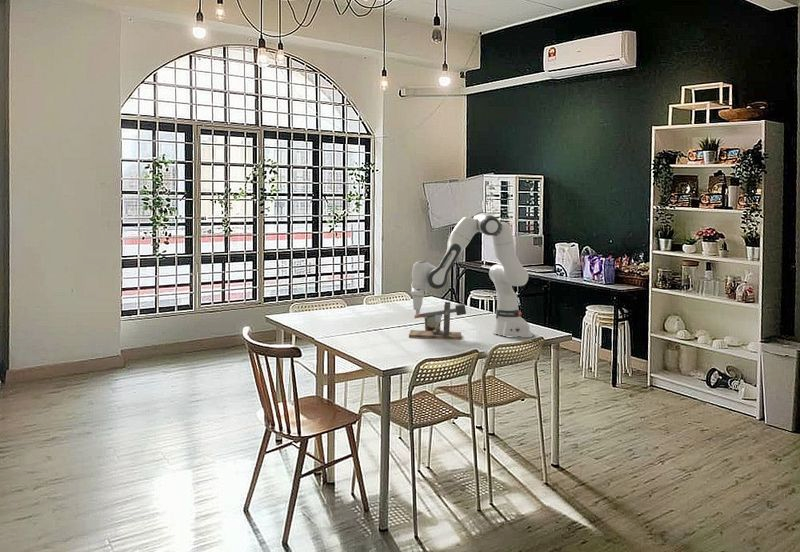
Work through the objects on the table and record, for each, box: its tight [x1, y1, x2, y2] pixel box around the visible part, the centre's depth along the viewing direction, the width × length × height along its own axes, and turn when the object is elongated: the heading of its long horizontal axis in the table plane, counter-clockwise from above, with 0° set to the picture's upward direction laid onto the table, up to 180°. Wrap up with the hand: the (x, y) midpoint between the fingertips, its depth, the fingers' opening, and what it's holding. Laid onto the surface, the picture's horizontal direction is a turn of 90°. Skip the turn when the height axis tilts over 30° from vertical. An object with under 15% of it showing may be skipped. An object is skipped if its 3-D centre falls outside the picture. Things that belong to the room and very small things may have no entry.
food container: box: [422, 311, 443, 331], centre depth 395 cm, size 12×6×10 cm, turn 130°
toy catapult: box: [408, 301, 462, 341], centre depth 380 cm, size 28×12×18 cm, turn 84°
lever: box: [413, 302, 467, 323], centre depth 379 cm, size 28×5×7 cm, turn 83°
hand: (417, 315), depth 381 cm, fingers closed, pressing on lever
